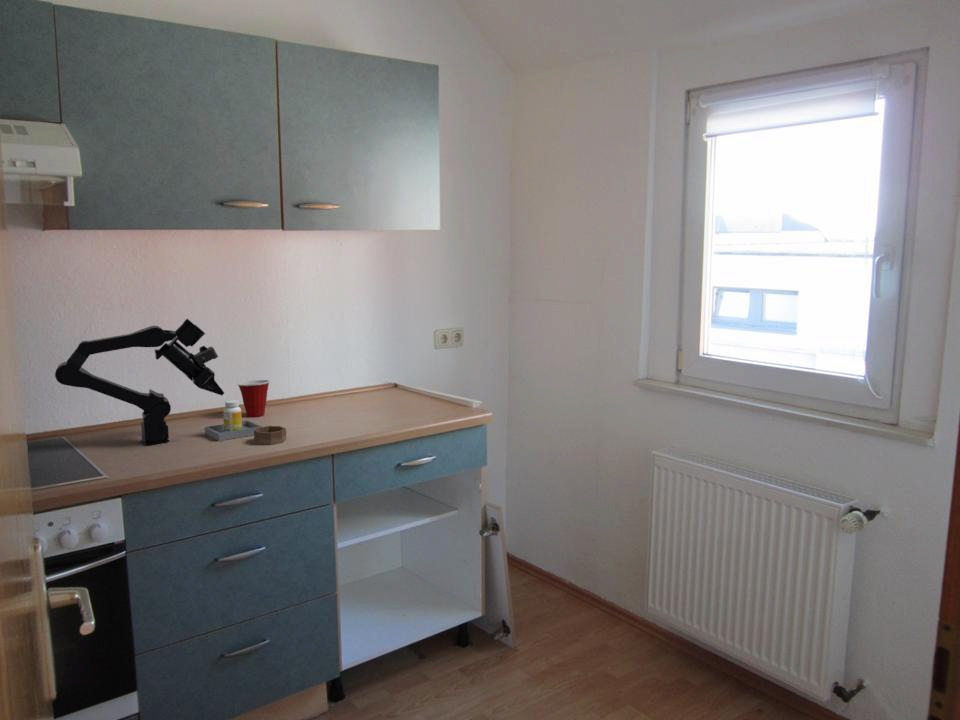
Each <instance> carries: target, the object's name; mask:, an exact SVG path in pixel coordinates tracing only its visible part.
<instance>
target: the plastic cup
mask: <svg viewBox="0 0 960 720" xmlns="http://www.w3.org/2000/svg"><path fill="white" fill-rule="evenodd" d="M269 384H270V380H269V379H257V380H255V379H254V380H246V381H242V382H238V383H237V385H236V386H238V388H239V391H240V393H241V397H242V402H243V405H244V409H245V414H246V416H247V417H248V416H249V418H258V417H259V416H260V417H262V416H264V415H265V412H266V407H267V406H266V405H267V398H268V390H269Z"/></svg>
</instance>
